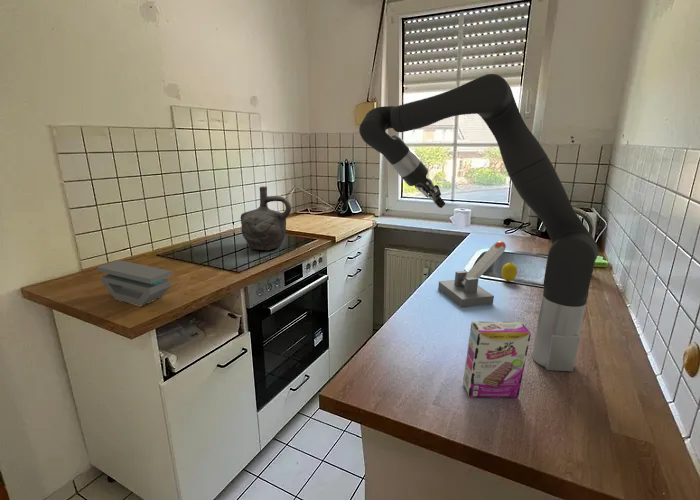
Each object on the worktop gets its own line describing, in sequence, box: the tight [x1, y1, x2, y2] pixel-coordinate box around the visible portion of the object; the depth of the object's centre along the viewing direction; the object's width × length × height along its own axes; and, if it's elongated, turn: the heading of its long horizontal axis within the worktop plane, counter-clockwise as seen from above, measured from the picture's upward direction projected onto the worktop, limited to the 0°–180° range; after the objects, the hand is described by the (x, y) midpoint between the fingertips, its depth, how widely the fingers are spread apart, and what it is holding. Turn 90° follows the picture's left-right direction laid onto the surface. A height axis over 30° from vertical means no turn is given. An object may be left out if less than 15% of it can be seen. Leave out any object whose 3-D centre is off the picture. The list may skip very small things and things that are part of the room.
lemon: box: [501, 261, 518, 282], centre depth 145 cm, size 6×6×8 cm
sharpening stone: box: [96, 259, 173, 306], centre depth 125 cm, size 25×8×11 cm, turn 66°
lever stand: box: [437, 270, 495, 308], centre depth 131 cm, size 16×12×8 cm
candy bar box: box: [462, 321, 532, 399], centre depth 81 cm, size 11×5×16 cm, turn 92°
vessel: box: [240, 186, 292, 251], centre depth 180 cm, size 24×22×30 cm
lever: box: [460, 240, 507, 286], centre depth 130 cm, size 4×4×20 cm
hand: (442, 205), depth 119 cm, fingers closed
